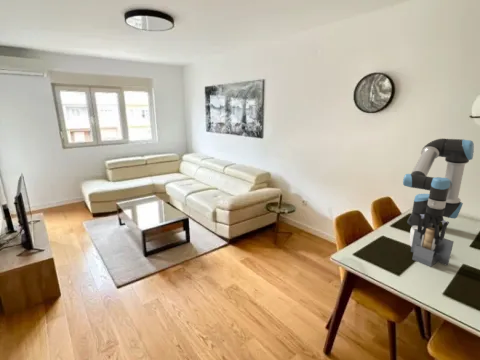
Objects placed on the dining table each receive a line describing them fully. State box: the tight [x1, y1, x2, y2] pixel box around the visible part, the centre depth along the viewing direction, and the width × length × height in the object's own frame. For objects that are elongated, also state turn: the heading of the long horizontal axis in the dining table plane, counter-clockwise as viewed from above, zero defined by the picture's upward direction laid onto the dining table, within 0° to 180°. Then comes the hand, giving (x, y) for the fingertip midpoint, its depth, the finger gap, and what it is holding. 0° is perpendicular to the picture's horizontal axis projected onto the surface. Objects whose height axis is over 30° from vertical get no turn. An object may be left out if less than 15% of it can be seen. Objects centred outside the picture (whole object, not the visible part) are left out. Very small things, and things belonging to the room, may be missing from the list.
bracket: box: [410, 229, 455, 268], centre depth 143 cm, size 10×18×14 cm, turn 34°
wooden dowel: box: [423, 227, 435, 250], centre depth 142 cm, size 4×4×14 cm
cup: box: [409, 226, 423, 248], centre depth 158 cm, size 9×9×12 cm
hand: (427, 247), depth 143 cm, fingers closed on wooden dowel, 4 cm apart
